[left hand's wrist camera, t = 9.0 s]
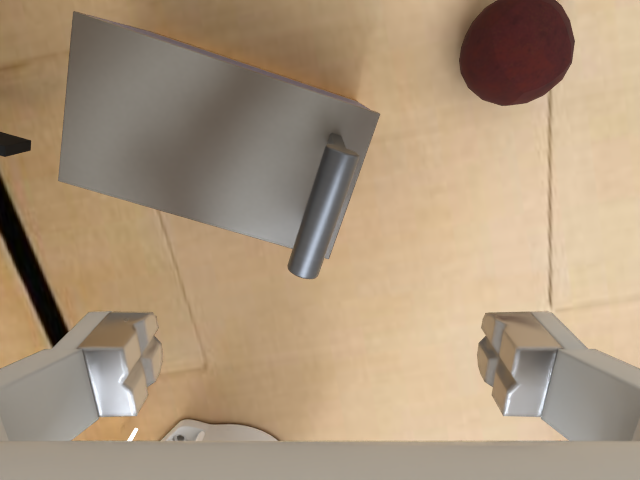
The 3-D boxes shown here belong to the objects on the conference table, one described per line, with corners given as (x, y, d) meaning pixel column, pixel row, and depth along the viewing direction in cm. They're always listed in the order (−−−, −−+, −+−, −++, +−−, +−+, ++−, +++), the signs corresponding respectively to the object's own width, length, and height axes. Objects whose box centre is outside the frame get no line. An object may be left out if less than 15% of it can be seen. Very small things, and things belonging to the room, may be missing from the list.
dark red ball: (512, -21, 32) (562, -46, 25) (558, 66, 34) (615, 63, 27) (430, 45, 33) (457, 37, 27) (479, 123, 36) (515, 134, 29)
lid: (378, 112, 25) (404, 128, 17) (328, 254, 28) (332, 319, 21) (81, 13, 23) (-36, -19, 15) (65, 177, 26) (-37, 218, 19)
